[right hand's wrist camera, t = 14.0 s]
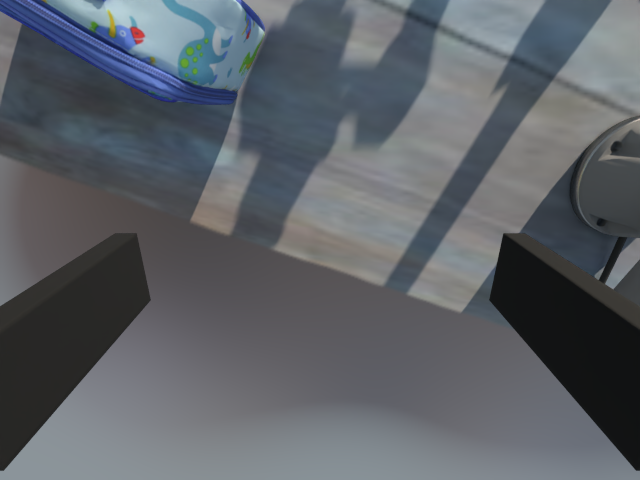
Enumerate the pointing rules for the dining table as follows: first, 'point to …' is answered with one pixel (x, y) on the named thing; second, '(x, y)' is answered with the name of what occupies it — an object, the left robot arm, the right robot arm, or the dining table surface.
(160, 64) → the lunch box
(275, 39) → the dining table surface
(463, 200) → the dining table surface
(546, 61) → the dining table surface
